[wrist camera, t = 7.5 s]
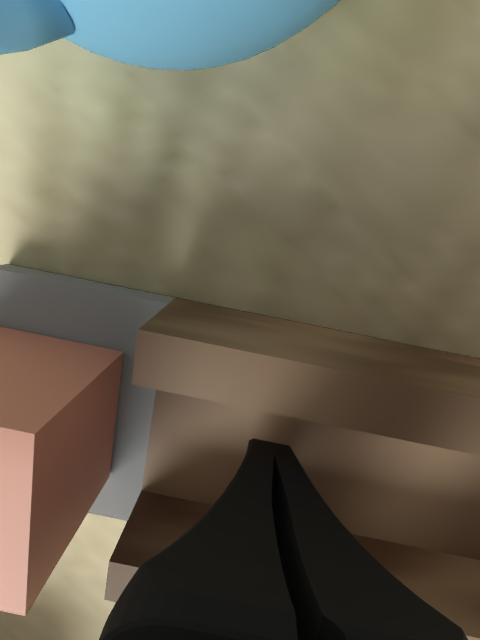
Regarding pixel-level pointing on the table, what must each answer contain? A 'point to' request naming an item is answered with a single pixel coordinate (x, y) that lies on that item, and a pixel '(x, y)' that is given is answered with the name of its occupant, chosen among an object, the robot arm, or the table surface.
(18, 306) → the shelf
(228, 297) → the table surface
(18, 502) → the block
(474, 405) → the chute
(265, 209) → the table surface
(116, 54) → the teapot
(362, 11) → the table surface
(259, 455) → the robot arm
